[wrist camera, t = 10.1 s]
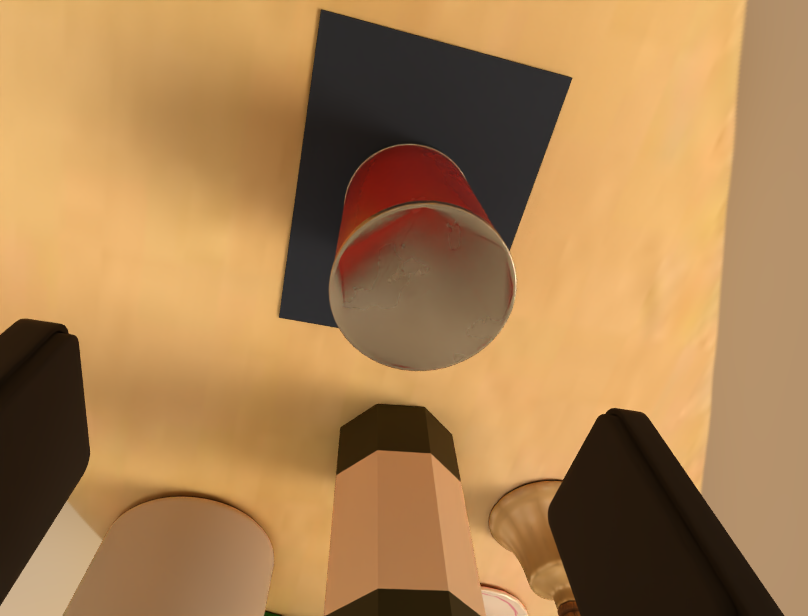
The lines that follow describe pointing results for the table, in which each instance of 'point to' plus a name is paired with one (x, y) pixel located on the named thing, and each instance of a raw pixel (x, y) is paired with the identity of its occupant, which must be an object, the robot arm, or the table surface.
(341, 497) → the wine bottle
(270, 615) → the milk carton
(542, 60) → the table surface
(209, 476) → the table surface
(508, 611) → the teacup
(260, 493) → the table surface
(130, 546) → the cylinder vase
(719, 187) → the table surface
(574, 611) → the hand bell
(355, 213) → the tin can
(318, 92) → the placemat
